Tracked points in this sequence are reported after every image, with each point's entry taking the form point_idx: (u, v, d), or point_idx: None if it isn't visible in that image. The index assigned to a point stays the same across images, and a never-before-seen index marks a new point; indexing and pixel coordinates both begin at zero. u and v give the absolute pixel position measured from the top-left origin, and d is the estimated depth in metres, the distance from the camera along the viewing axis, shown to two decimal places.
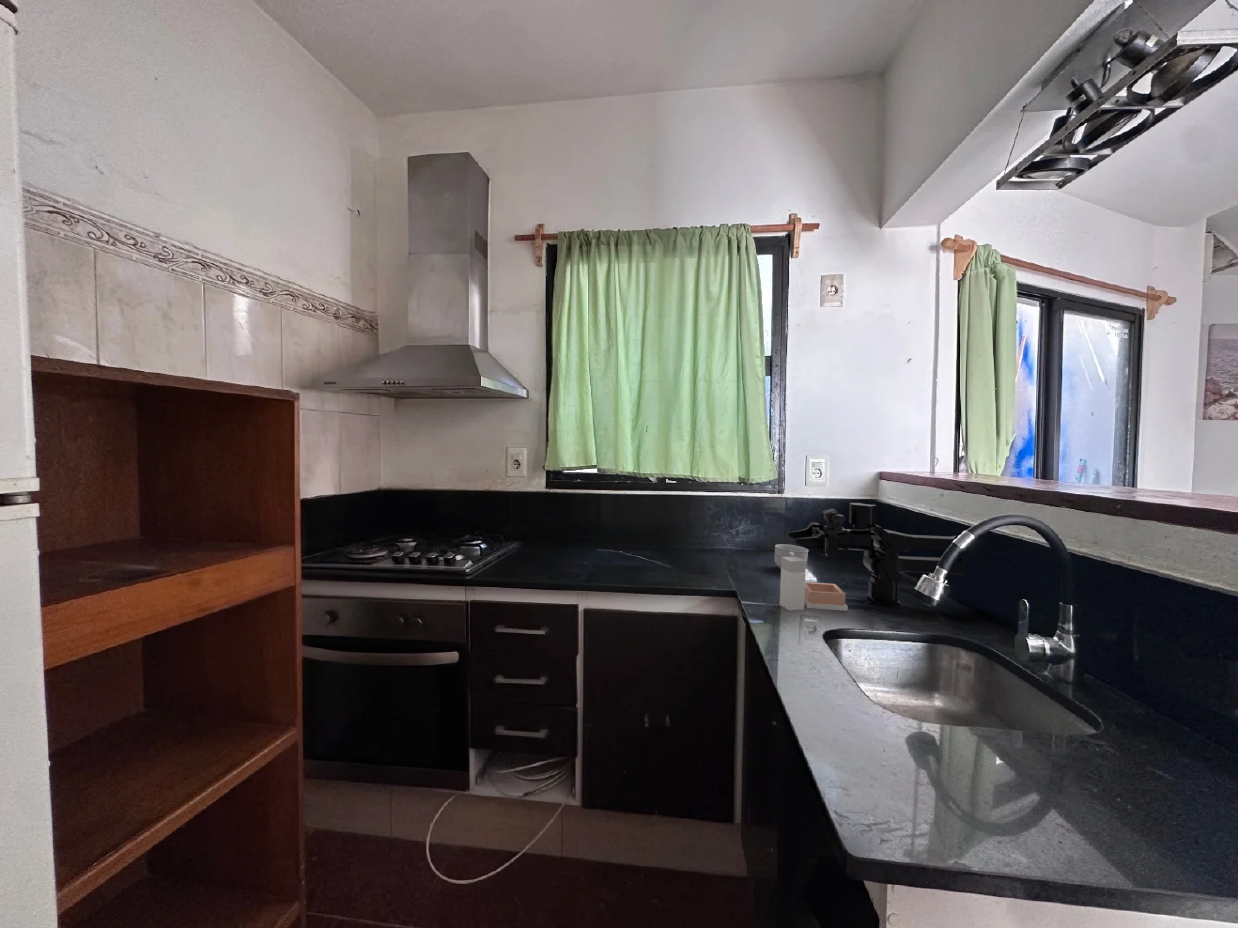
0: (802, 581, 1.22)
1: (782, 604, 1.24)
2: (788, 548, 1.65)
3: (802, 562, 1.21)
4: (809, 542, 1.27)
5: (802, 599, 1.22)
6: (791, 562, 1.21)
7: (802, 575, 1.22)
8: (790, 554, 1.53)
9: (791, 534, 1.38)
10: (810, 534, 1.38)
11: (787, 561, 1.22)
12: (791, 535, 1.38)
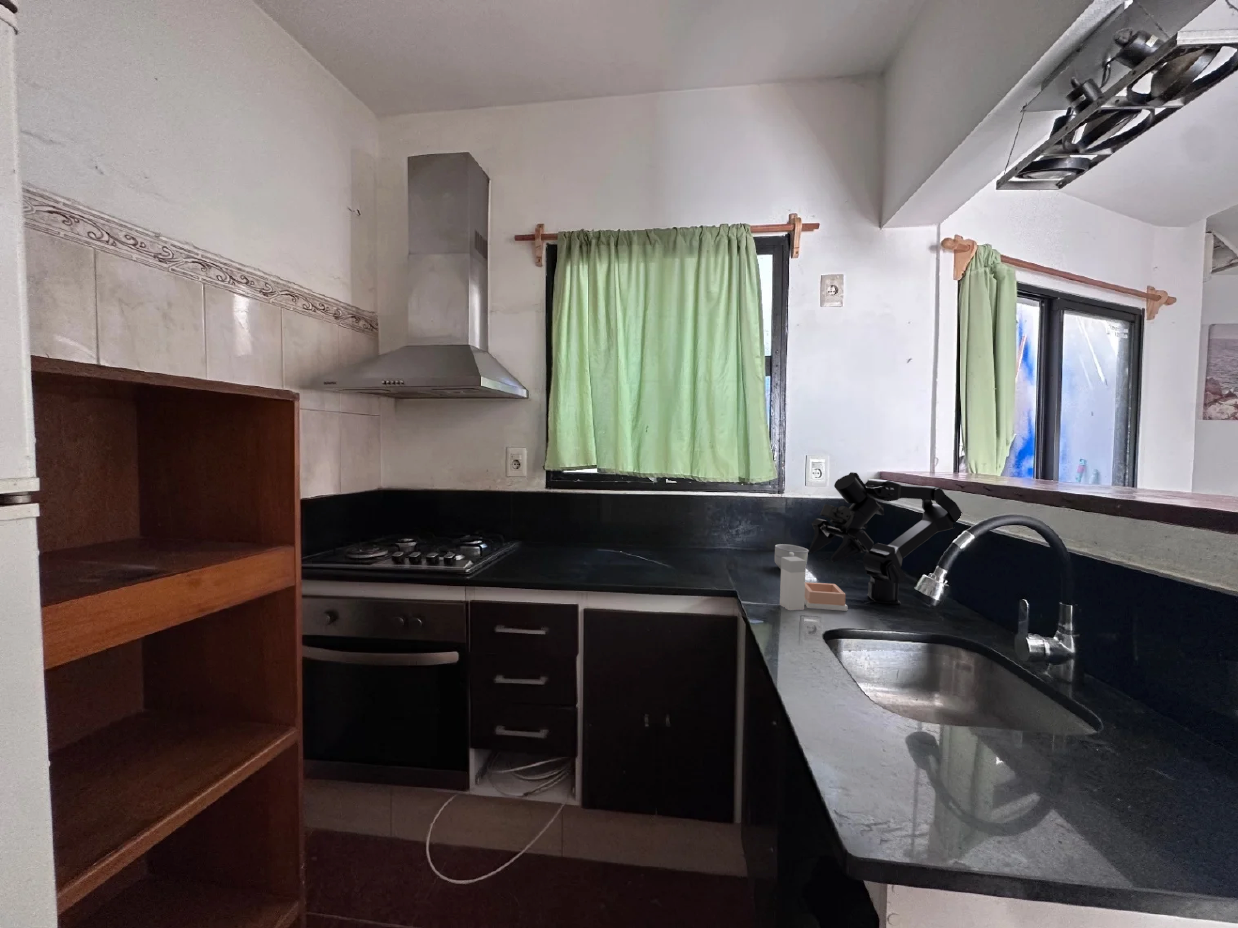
0: (802, 581, 1.22)
1: (782, 604, 1.24)
2: (788, 548, 1.65)
3: (802, 562, 1.21)
4: (843, 552, 1.20)
5: (802, 599, 1.22)
6: (791, 562, 1.21)
7: (802, 575, 1.22)
8: (790, 554, 1.53)
9: (812, 550, 1.29)
10: (823, 535, 1.31)
11: (787, 561, 1.22)
12: (813, 550, 1.29)
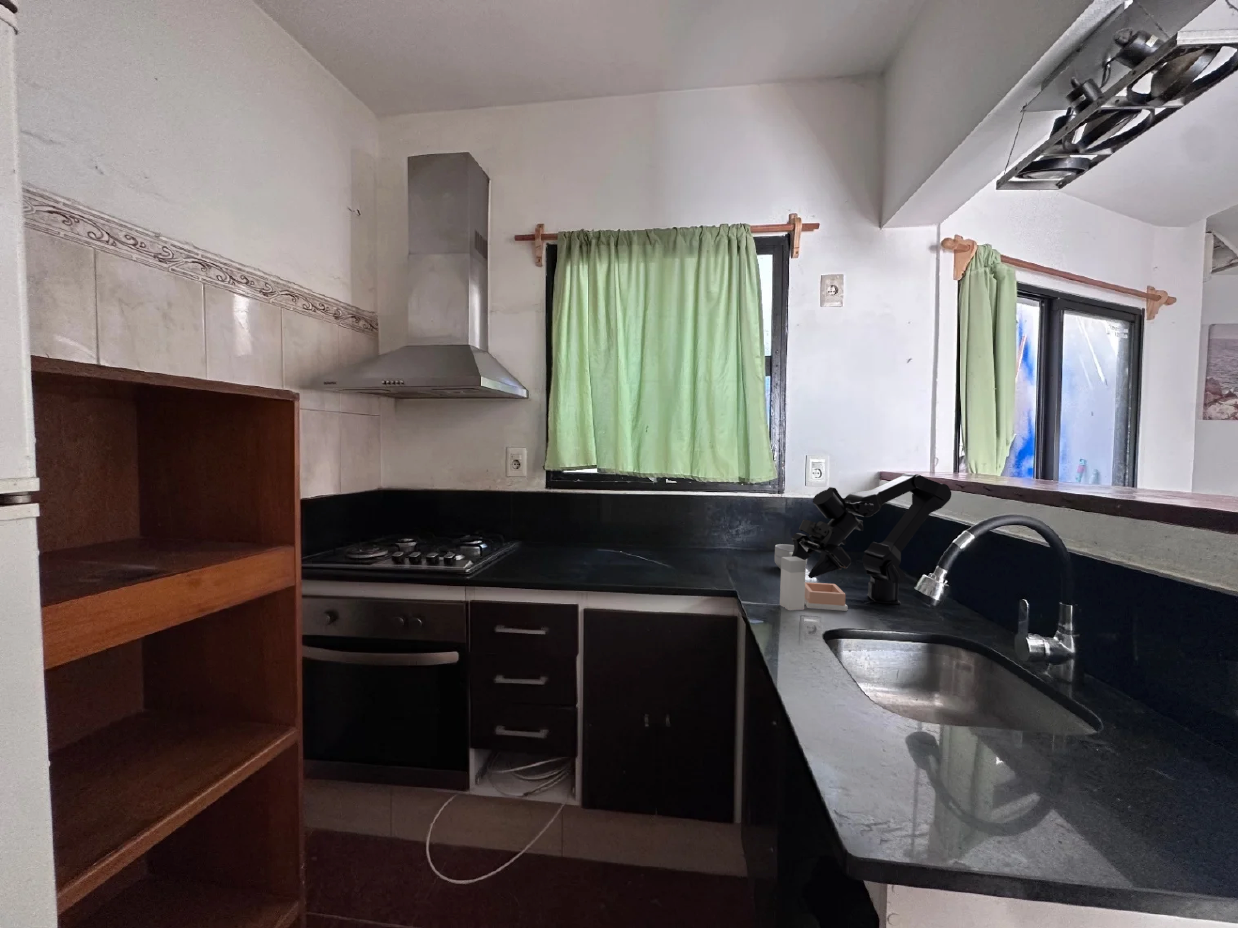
0: (802, 581, 1.22)
1: (782, 604, 1.24)
2: (788, 548, 1.65)
3: (802, 562, 1.21)
4: (821, 568, 1.19)
5: (802, 599, 1.22)
6: (791, 562, 1.21)
7: (802, 575, 1.22)
8: (790, 554, 1.53)
9: None
10: (803, 550, 1.29)
11: (787, 561, 1.22)
12: None
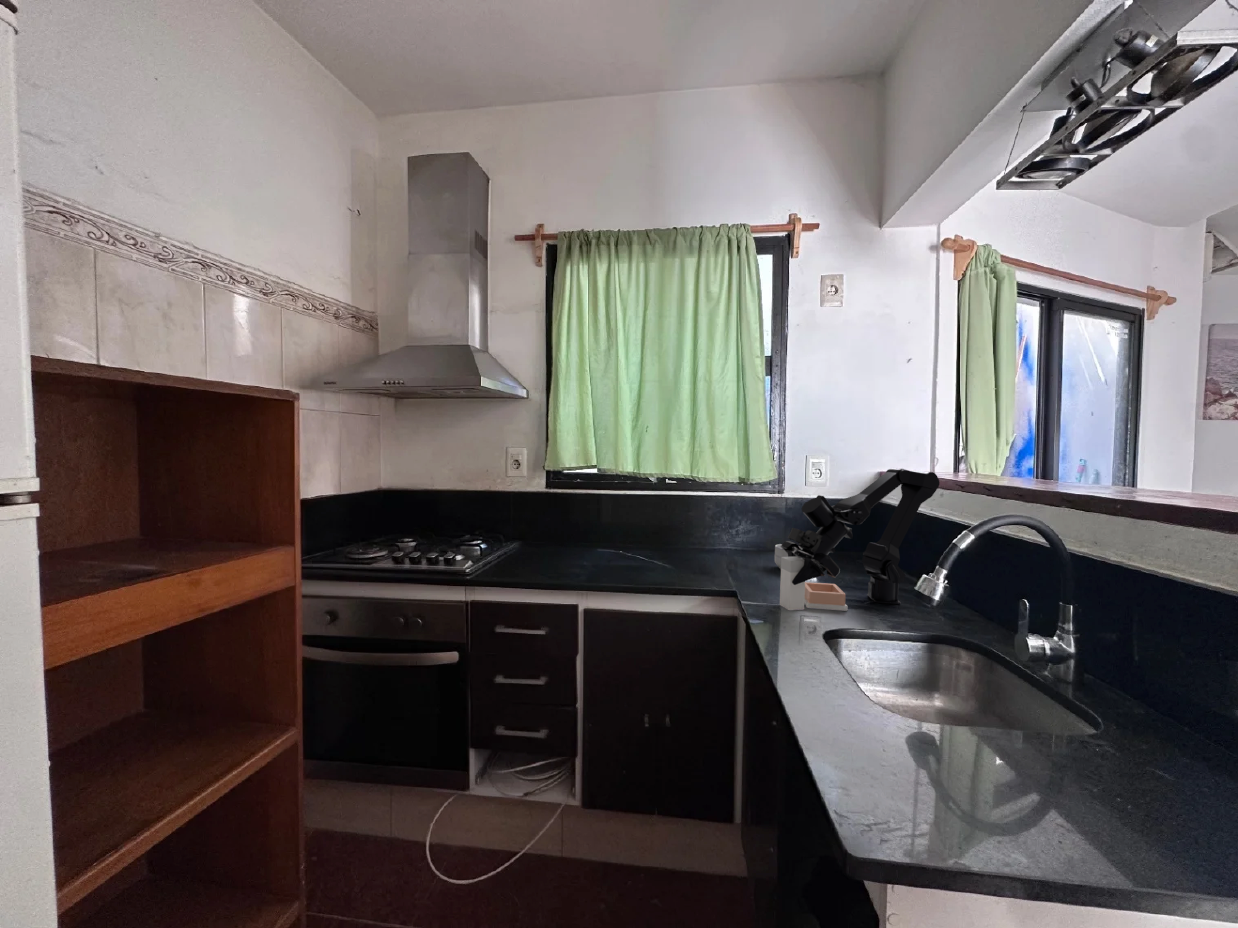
0: None
1: (782, 604, 1.24)
2: None
3: (802, 562, 1.21)
4: (804, 575, 1.20)
5: (802, 599, 1.22)
6: (791, 562, 1.21)
7: None
8: None
9: None
10: None
11: (787, 561, 1.22)
12: None
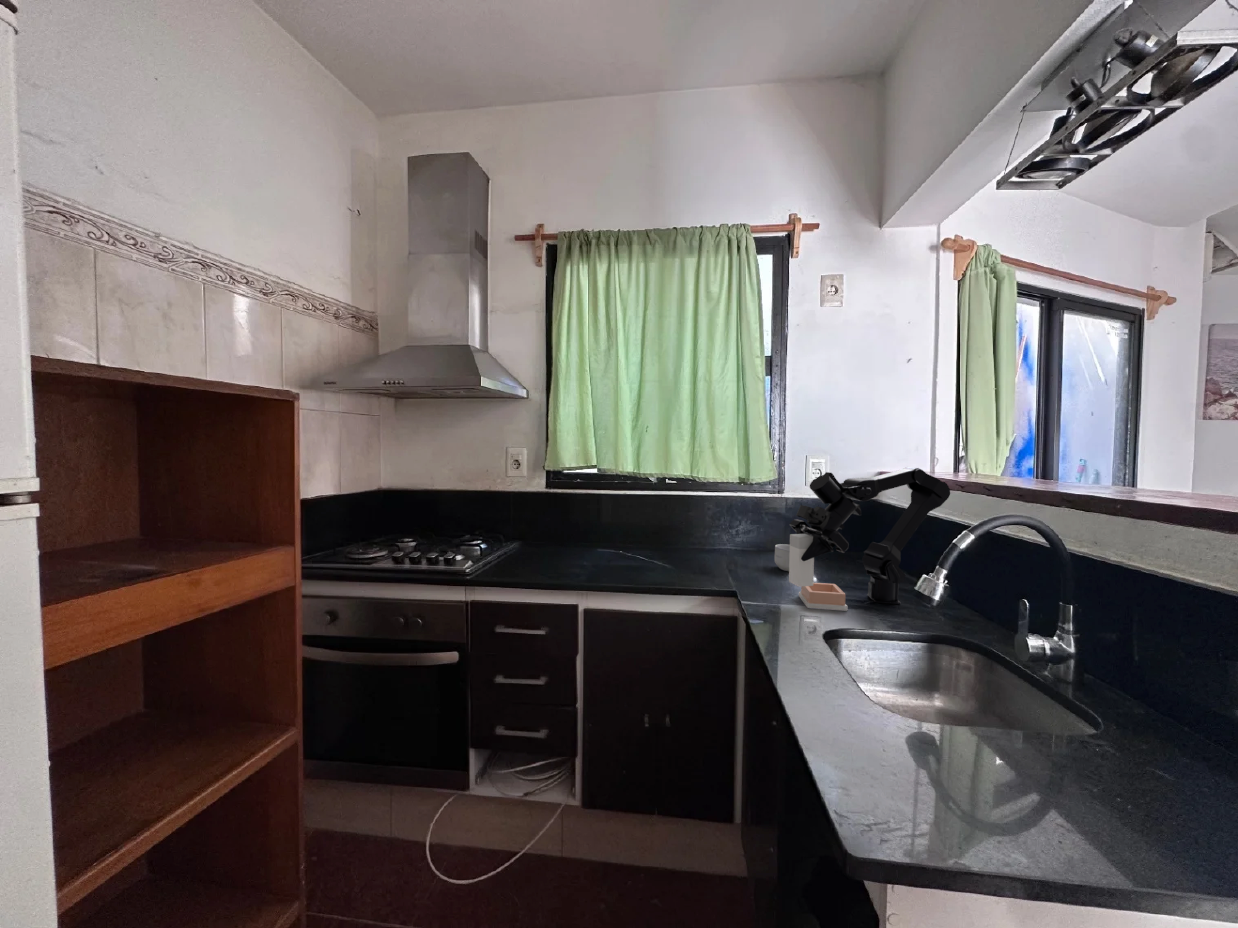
0: None
1: (791, 581, 1.25)
2: (788, 548, 1.65)
3: (811, 538, 1.22)
4: (813, 551, 1.21)
5: (811, 575, 1.22)
6: (800, 538, 1.21)
7: None
8: None
9: None
10: None
11: (796, 538, 1.23)
12: None
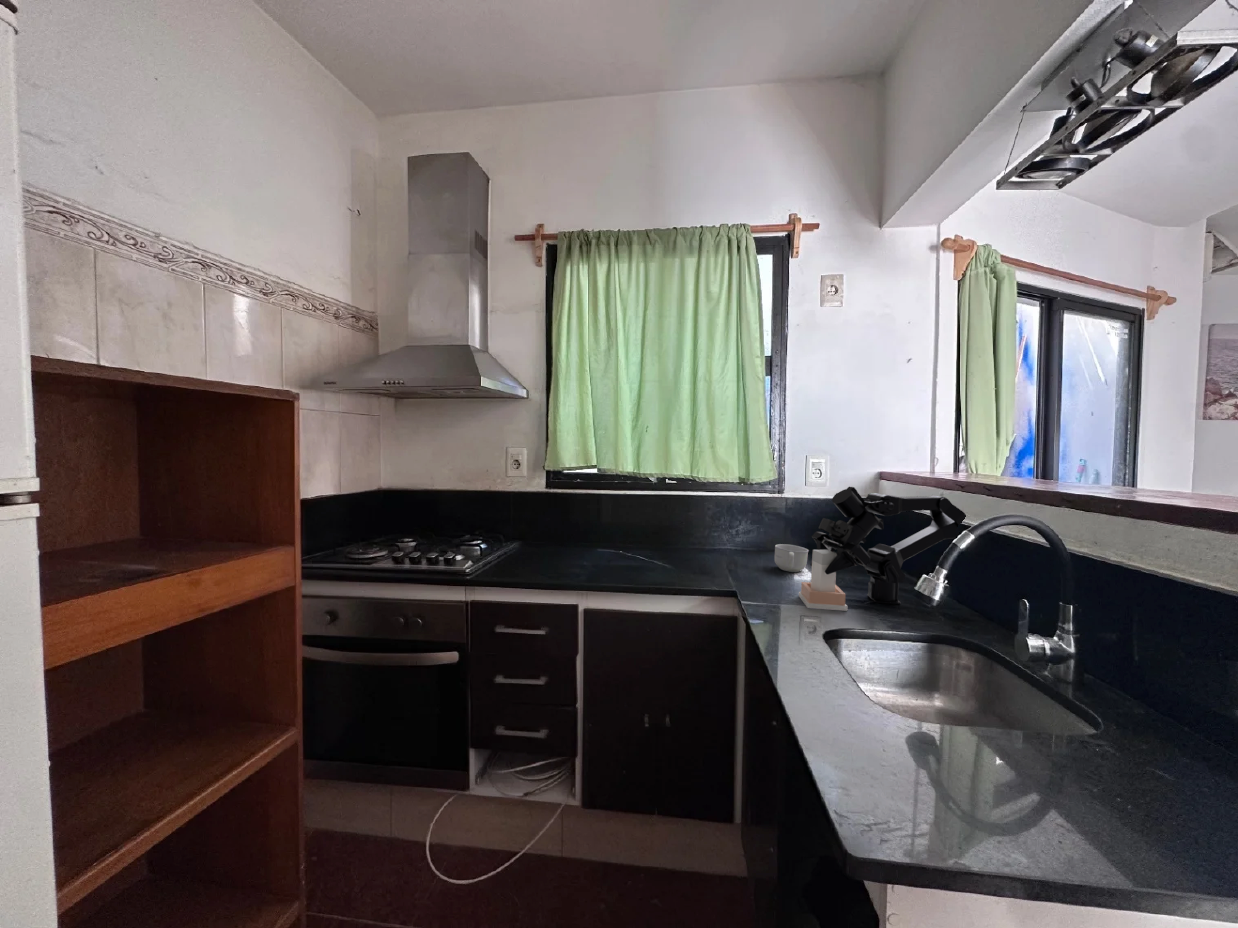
0: (833, 573, 1.25)
1: None
2: (788, 548, 1.65)
3: (833, 555, 1.25)
4: (837, 565, 1.23)
5: (833, 591, 1.25)
6: (822, 555, 1.24)
7: None
8: (790, 554, 1.53)
9: None
10: (825, 549, 1.31)
11: (818, 554, 1.25)
12: None
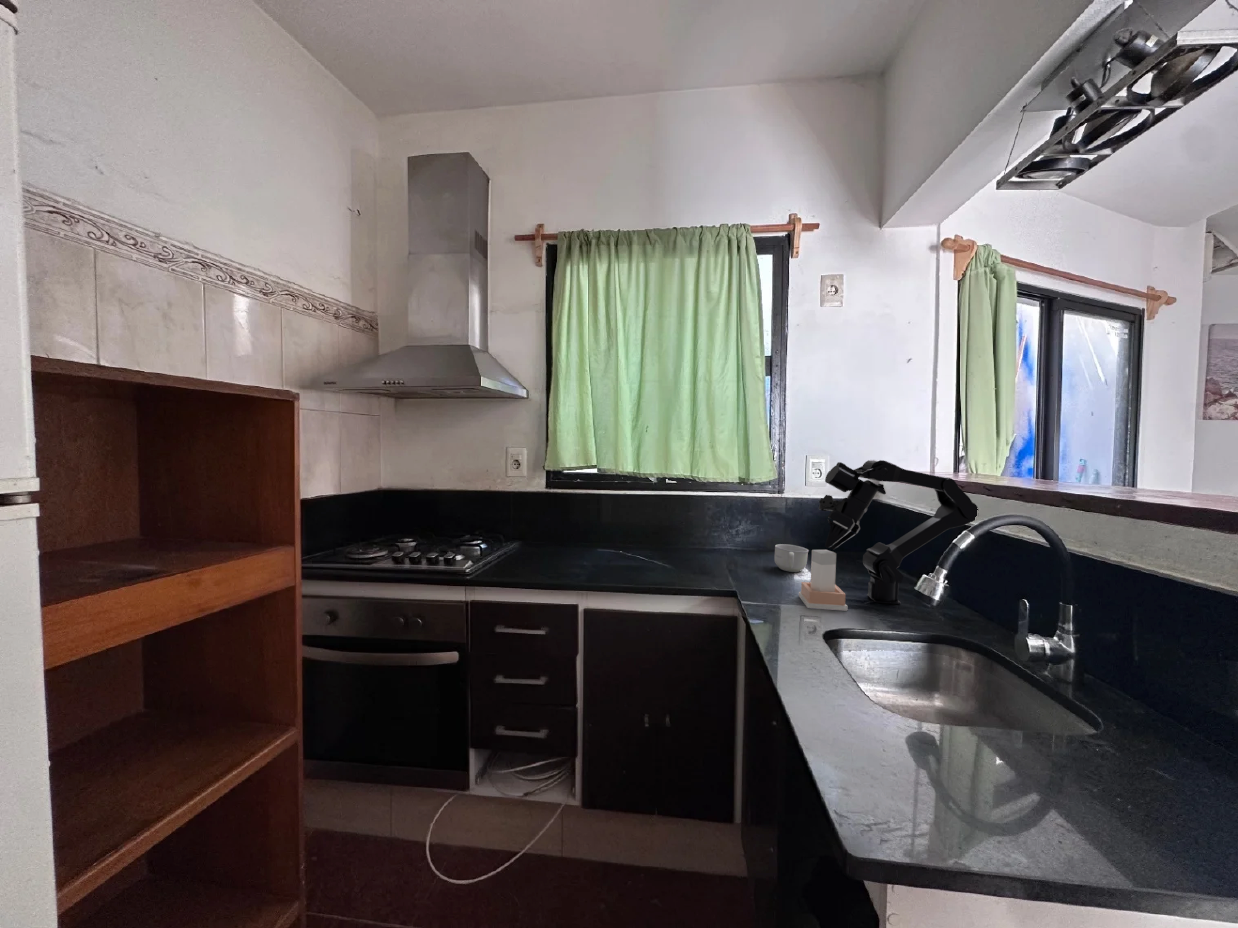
0: (832, 573, 1.25)
1: None
2: (788, 548, 1.65)
3: (832, 555, 1.25)
4: (832, 536, 1.26)
5: (832, 591, 1.25)
6: (822, 555, 1.24)
7: (832, 567, 1.25)
8: (790, 554, 1.53)
9: (833, 546, 1.35)
10: None
11: (818, 554, 1.26)
12: (834, 546, 1.35)
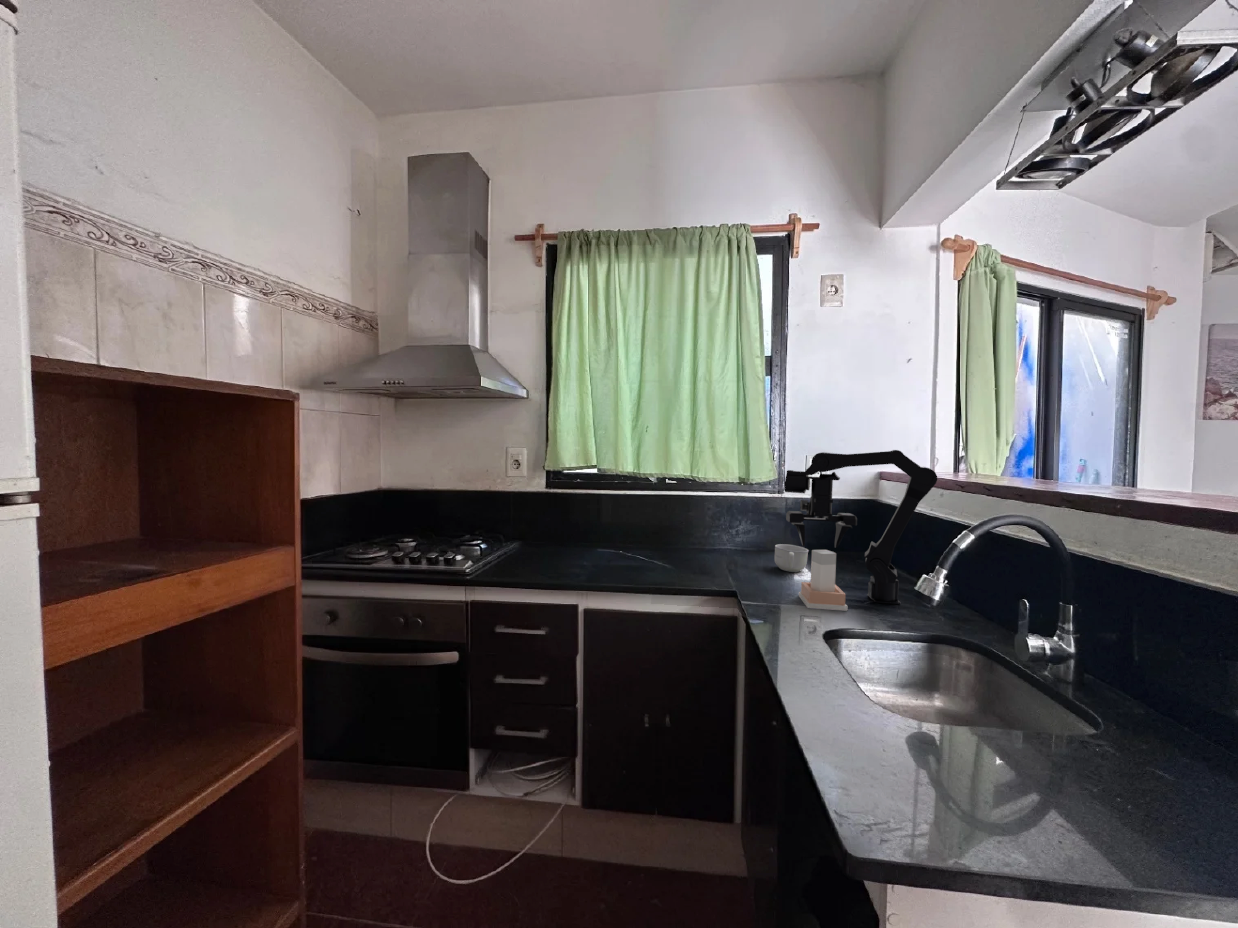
0: (832, 573, 1.25)
1: None
2: (788, 548, 1.65)
3: (832, 555, 1.25)
4: (799, 534, 1.39)
5: (832, 591, 1.25)
6: (822, 555, 1.24)
7: (832, 567, 1.25)
8: (790, 554, 1.53)
9: (835, 544, 1.38)
10: (838, 526, 1.37)
11: (818, 554, 1.26)
12: (835, 544, 1.37)
